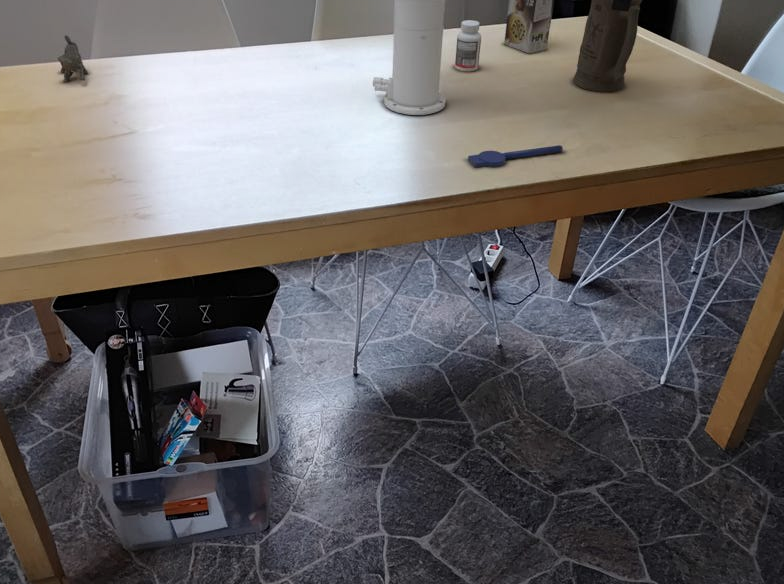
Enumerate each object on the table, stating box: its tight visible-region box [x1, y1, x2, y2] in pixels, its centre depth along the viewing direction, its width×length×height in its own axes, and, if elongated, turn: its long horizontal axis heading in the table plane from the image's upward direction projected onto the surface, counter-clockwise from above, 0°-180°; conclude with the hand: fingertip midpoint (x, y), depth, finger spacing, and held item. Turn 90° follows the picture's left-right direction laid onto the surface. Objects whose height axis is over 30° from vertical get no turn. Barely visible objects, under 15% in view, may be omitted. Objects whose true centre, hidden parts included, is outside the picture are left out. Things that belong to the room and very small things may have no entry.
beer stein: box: [573, 0, 643, 93], centre depth 151 cm, size 15×11×20 cm
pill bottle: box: [454, 19, 482, 72], centre depth 163 cm, size 5×5×10 cm
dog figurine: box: [57, 34, 89, 83], centre depth 156 cm, size 12×6×7 cm, turn 16°
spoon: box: [467, 144, 564, 168], centre depth 130 cm, size 18×5×1 cm, turn 108°
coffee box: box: [503, 0, 555, 54], centre depth 173 cm, size 9×6×16 cm
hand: (621, 5), depth 136 cm, fingers open, 4 cm apart
